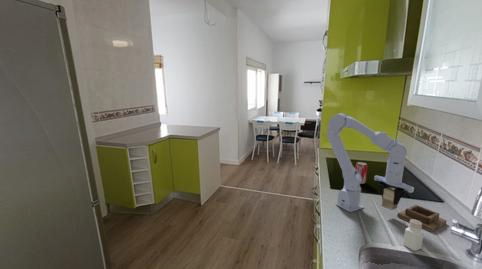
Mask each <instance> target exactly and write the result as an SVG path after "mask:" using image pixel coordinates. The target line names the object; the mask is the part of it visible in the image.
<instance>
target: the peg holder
mask: <svg viewBox="0 0 482 269" xmlns="http://www.w3.org/2000/svg"><path fill="white" fill-rule="evenodd" d="M396 217H398V218H399V219H402V220H404V221H406V222H408V223H410V220H411V219H415V220H418V221H420V222H421V223H422V227H421V229H423V230H426V231H427V232H430V233H432V232H434V231H436V230H438V229H439V228H441V227H443V226H445V225H446V224H447V221H448V220H447V219H444V218H441V217H440V213H439V212H436V211H433V210H431V209H429V208H426V207H423V206H421V205H418V204H414V205H411V206H410V207H408V208H405V210H402V211H400V212H398V213H397V215H396Z"/></svg>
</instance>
